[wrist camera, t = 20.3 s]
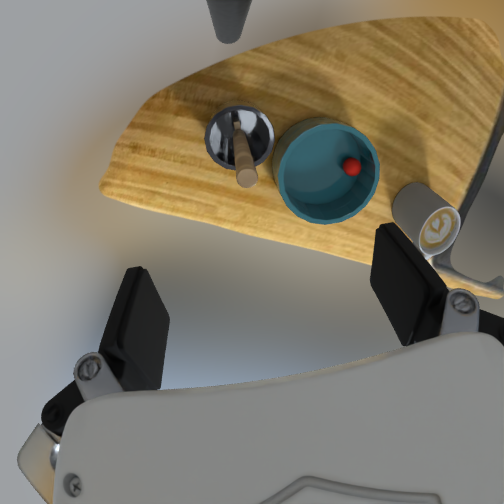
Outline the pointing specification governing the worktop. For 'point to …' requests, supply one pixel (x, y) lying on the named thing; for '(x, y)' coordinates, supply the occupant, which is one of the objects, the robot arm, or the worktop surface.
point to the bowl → (324, 170)
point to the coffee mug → (426, 219)
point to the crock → (250, 122)
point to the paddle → (243, 158)
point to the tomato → (352, 166)
